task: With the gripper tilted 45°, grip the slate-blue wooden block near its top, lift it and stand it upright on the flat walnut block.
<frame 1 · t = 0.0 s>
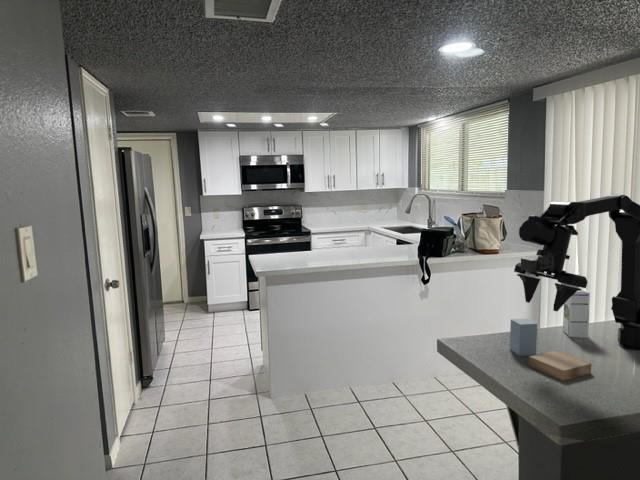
hand: (540, 306, 115), 15 cm above the countertop, tool pointing down, fingers open, 9 cm apart
walnut block: (558, 371, 112), on the countertop
slate block: (522, 352, 125), on the countertop
syrup box: (575, 335, 138), on the countertop
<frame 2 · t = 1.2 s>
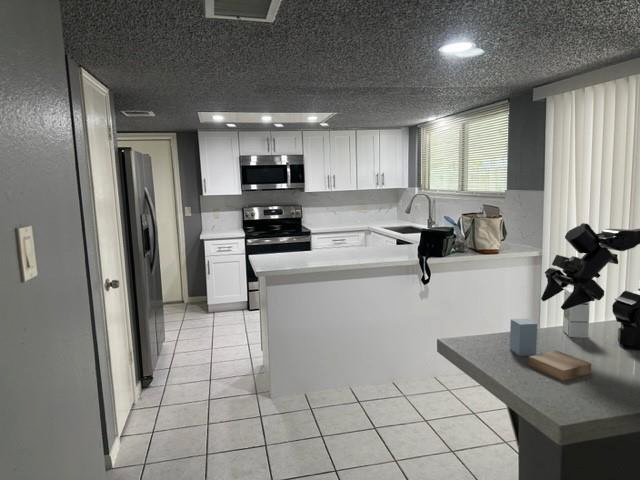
hand: (551, 304, 124), 14 cm above the countertop, tool tilted 45°, fingers open, 9 cm apart
nothing on the countertop moved.
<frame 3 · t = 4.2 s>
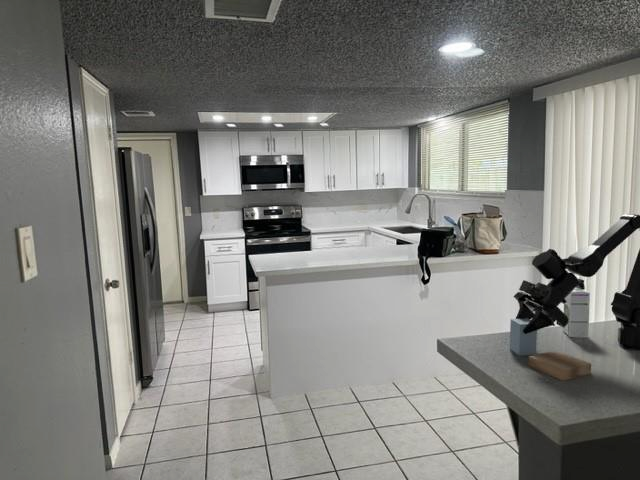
hand: (518, 329, 124), 7 cm above the countertop, tool tilted 45°, fingers closed on slate block, 5 cm apart
slate block: (522, 351, 125), on the countertop, touching gripper
everything else where it was.
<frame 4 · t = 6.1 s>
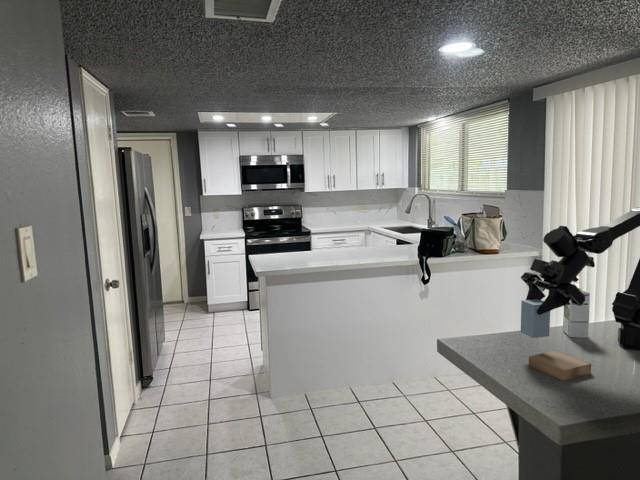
hand: (531, 310, 118), 13 cm above the countertop, tool tilted 45°, fingers closed on slate block, 5 cm apart
slate block: (534, 334, 119), point 7 cm above the countertop, touching gripper
everything else where it was.
when the fingers open (11 cm above the countertop, at t = 8.2 s): slate block drops 2 cm, resting on walnut block.
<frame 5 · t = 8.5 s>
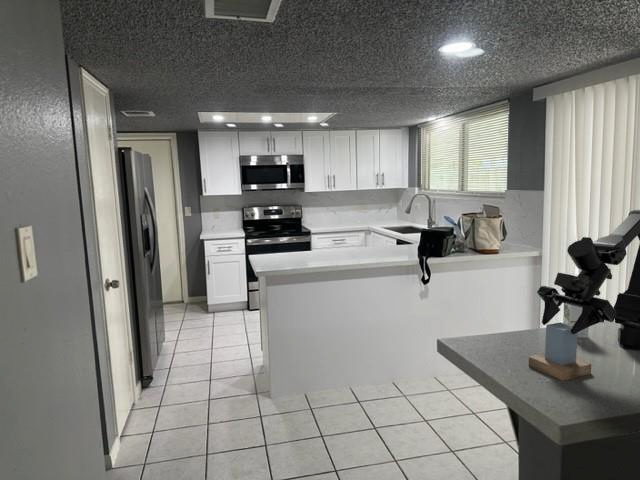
hand: (556, 328, 110), 11 cm above the countertop, tool tilted 45°, fingers open, 8 cm apart
walnut block: (558, 371, 112), on the countertop, touching slate block
slate block: (560, 360, 112), point 2 cm above the countertop, touching walnut block
everything else where it was.
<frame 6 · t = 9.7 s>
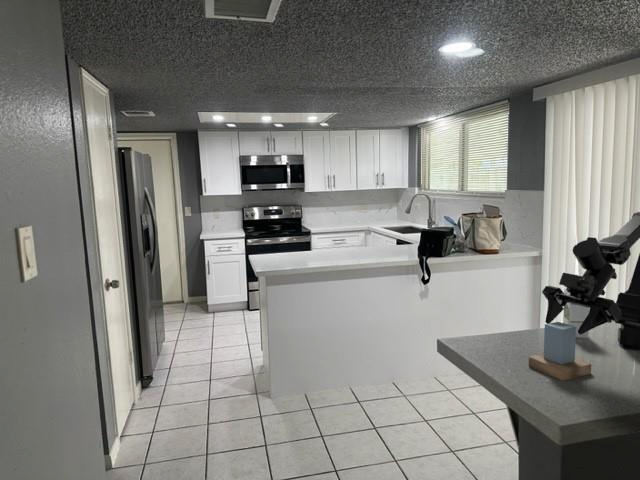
hand: (562, 328, 111), 11 cm above the countertop, tool tilted 45°, fingers open, 9 cm apart
nothing on the countertop moved.
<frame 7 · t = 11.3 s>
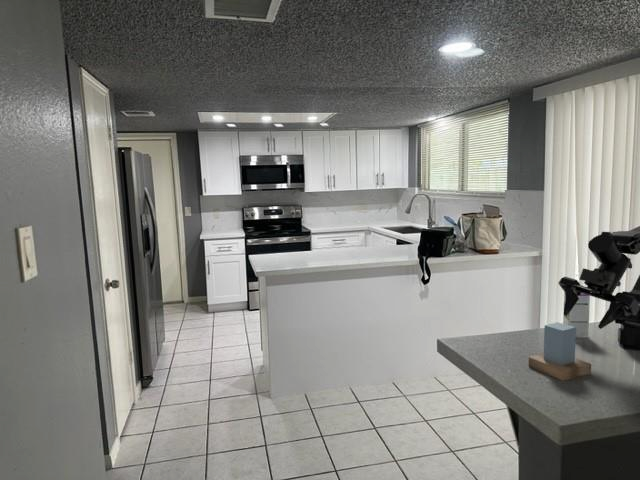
hand: (581, 321, 115), 11 cm above the countertop, tool tilted 40°, fingers open, 9 cm apart
walnut block: (558, 371, 112), on the countertop
slate block: (559, 360, 112), point 2 cm above the countertop
everything else where it was.
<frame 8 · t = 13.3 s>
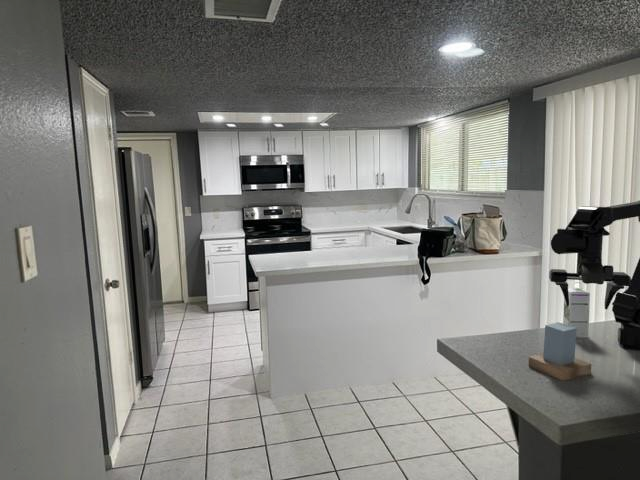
hand: (586, 307, 122), 13 cm above the countertop, tool pointing down, fingers open, 9 cm apart
nothing on the countertop moved.
at the end: slate block 0.4 cm off-centre on the walnut block, point 3.0 cm above the walnut block's base; slate block tilted 1°; slate block touching walnut block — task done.
